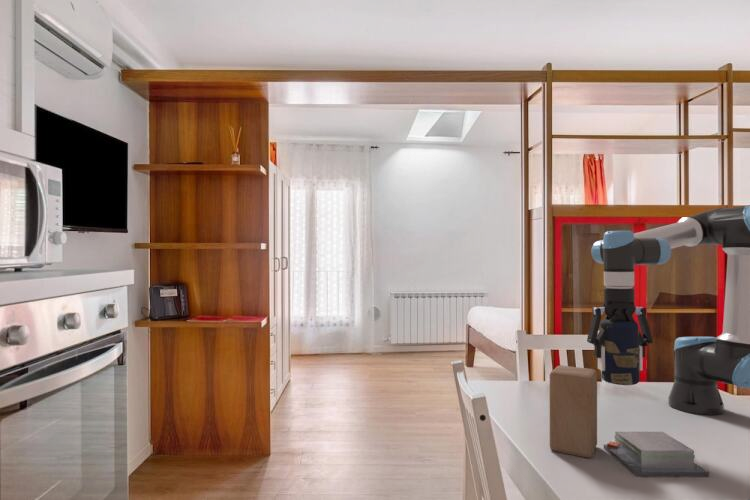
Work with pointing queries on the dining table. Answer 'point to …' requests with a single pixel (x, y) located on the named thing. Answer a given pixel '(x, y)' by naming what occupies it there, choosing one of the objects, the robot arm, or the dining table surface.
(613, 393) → the dining table surface
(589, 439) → the block
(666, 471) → the stand
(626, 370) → the canister
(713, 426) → the dining table surface
